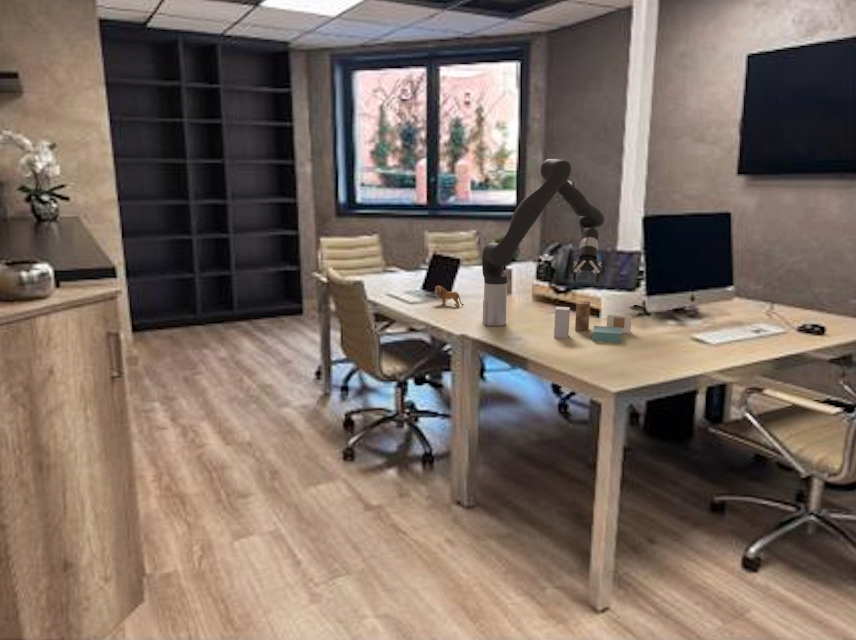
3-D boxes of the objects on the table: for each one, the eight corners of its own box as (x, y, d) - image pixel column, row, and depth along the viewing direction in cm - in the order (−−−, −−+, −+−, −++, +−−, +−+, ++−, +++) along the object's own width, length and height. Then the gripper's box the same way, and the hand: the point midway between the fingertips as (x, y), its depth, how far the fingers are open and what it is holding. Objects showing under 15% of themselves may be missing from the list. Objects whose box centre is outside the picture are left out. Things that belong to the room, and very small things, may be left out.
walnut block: (575, 330, 254) (576, 303, 252) (575, 327, 259) (577, 301, 256) (588, 331, 253) (589, 304, 250) (588, 328, 258) (590, 301, 255)
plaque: (606, 332, 252) (607, 315, 250) (606, 329, 255) (607, 313, 254) (630, 333, 249) (631, 317, 248) (630, 331, 253) (631, 315, 251)
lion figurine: (432, 305, 304) (432, 286, 302) (436, 303, 308) (436, 284, 306) (462, 307, 298) (462, 288, 296) (465, 305, 303) (466, 286, 301)
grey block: (554, 337, 244) (555, 309, 241) (555, 334, 249) (556, 306, 246) (567, 338, 242) (568, 309, 240) (568, 335, 247) (569, 307, 245)
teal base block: (592, 342, 238) (592, 331, 238) (593, 335, 248) (594, 325, 247) (620, 344, 236) (621, 333, 235) (620, 337, 245) (621, 327, 244)
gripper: (571, 244, 270) (567, 276, 262) (606, 245, 266) (604, 277, 258) (571, 255, 276) (568, 286, 268) (606, 256, 272) (603, 287, 264)
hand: (585, 281), depth 263 cm, fingers open, 8 cm apart
